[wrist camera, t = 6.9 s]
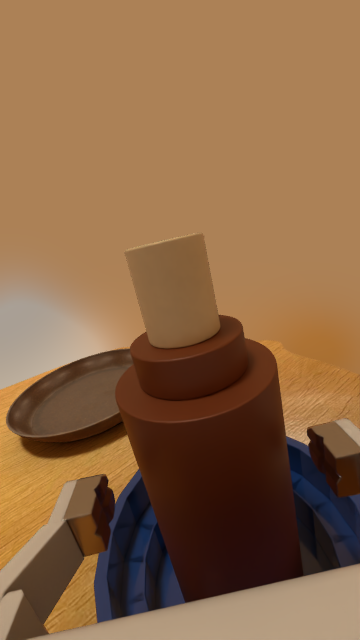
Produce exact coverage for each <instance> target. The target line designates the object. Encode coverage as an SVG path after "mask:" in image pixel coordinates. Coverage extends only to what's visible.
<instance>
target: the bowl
mask: <svg viewBox="0 0 360 640" xmlns="http://www.w3.org/2000/svg"><path fill="white" fill-rule="evenodd" d="M286 441H287V449H288V456H289V464H290V472H291V480H292V488H293V496H294V504H295V512H296V520H297V527H298V535H299V543H300V551H301V559H302V567H303V575H304V576H307V575H311V574H316V573H320V572H324V571H329V570H333V569H337V568H342V567H346V566H351V565H355V564H359V563H360V494H358V495H353V496H348V497H343V498H337V497H336V495H335V494H334V492H333V491H332V489H331V488H330V487H329V485H328V484H327V482H326V476H325V474H323V473H321V472H320V471H318V469H317V468H316V466H315V465H314V463H313V461H312V459H311V456H310V453H309V447H308V446H307V445H305V444H304V443H301V442H299V441H297V440H294V439H292V438H290V437H287V436H286ZM109 526H110V529H111V535H110V540H109V545H108V551H105V552H101V553H99V556H98V562H97V568H96V574H95V580H94V592H95V602H96V613H97V623H100V622H104V621H109V620H113V619H117V618H122V617H126V616H131V615H135V614H139V613H144V612H148V611H153V610H157V609H162V608H166V607H170V606H175V605H179V604H184V603H185V601H184V598H183V595H182V592H181V589H180V586H179V583H178V580H177V577H176V575H175V572H174V569H173V566H172V563H171V560H170V557H169V554H168V551H167V548H166V545H165V542H164V540H163V537H162V534H161V531H160V528H159V525H158V522H157V519H156V516H155V513H154V510H153V507H152V505H151V502H150V499H149V496H148V493H147V490H146V487H145V484H144V481H143V478H142V475H141V472H140V469H139V470H138V471H137V472H136V474H135V475H134V476H133V478H132V479H131V480H130V482H129V483H128V484H127V486H126V487H125V488H124V490H123V491H122V492H121V494H120V495H119V497H118V499H117V501H116V504H115V512H114V518H113V519H112V521H111V522H110V523H109Z"/></svg>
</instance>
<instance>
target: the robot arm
mask: <svg viewBox="0 0 360 640" xmlns="http://www.w3.org/2000/svg"><path fill="white" fill-rule="evenodd" d="M307 436H308V437H309V438H310V440H311V441H310V443H309V444H308V447H309V453H310V456H311V459H312V461H313V463H314V465H315V466H316V468H317V469H318V471H320V472H321V473H323V474H325V476H326V482H327V484H328V485H329V487H330V488H331V489H332V491H333V492H334V494H335V495H336V497H337V498H343V497H348V496H353V495H358V494H360V429H358V428H357V427H356V426H355V425H354V424H353V423H352V422H351V421H350V420H349V419H346V418H344V419H340V420H335V421H333V422H327V423H323V424H319V425H315V426H311V427H308V428H307ZM107 486H108V478H107V476H106V474H101V475H96V476H91V477H86V478H81V479H78V480H73V481H67V482H66V483H65V484H64V486H63V488H62V490H61V493H60V495H59V497H58V500H57V502H56V505H55V507H54V509H53V512H52V514H51V516H50V519H49V521H48V523H47V525H43V526H42V527H41V528H40V529H39V530H38V531H37V533H36V534H35V535H34V536H33V537H32V538H31V539H30V540H29V541H28V542H27V543H26V544H25V545H24V546H23V547H22V548H21V550H20V551H19V552H18V553H17V554H16V555H15V556H14V557H13V558H12V559H11V560H10V561H9V562H8V563H7V564H6V565H5V567H4V568H3V569H2V570H1V571H0V640H360V563H359V564H355V565H351V566H346V567H342V568H337V569H333V570H329V571H324V572H320V573H316V574H311V575H307V576H302V577H298V578H294V579H289V580H285V581H280V582H276V583H272V584H267V585H263V586H258V587H254V588H250V589H245V590H241V591H236V592H232V593H228V594H223V595H219V596H214V597H210V598H206V599H201V600H197V601H192V602H188V603H184V604H179V605H175V606H170V607H166V608H162V609H157V610H153V611H148V612H144V613H139V614H135V615H131V616H126V617H122V618H117V619H113V620H109V621H104V622H100V623H95V624H91V625H87V626H82V627H78V628H73V629H69V630H64V631H60V632H56V633H51V634H49V633H48V631H47V629H46V628H45V626H44V625H43V624H44V623H45V621H46V620H47V618H48V616H49V615H50V613H51V612H52V610H53V608H54V607H55V605H56V603H57V602H58V600H59V599H60V597H61V595H62V594H63V592H64V590H65V589H66V587H67V586H68V584H69V582H70V581H71V579H72V577H73V576H74V574H75V573H76V571H77V569H78V568H79V566H80V565H81V563H82V561H83V560H84V557H86V556H90V555H93V554H97V553H101V552H105V551H108V545H109V540H110V535H111V529H110V526H109V523H110V522H111V521H112V519H113V518H114V512H115V498H114V494H113V491H112V489H110V488H109V487H107Z"/></svg>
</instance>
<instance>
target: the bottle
mask: <svg viewBox="0 0 360 640" xmlns="http://www.w3.org/2000/svg"><path fill="white" fill-rule="evenodd" d="M125 256H126V259H127V263H128V267H129V270H130V274H131V277H132V281H133V285H134V288H135V292H136V295H137V299H138V302H139V306H140V310H141V313H142V317H143V320H144V324H145V328H146V331H147V332H145V333H144V334H142V335H140V336H139V337H138V338H137V339H136V340H135V341H134V342H133V343H132V344H131V347H130V354H131V357H132V361H133V365H132V366H130V367H129V368H128V369H127V370H126V371H125V372H124V374H123V375H122V376H121V377H120V379H119V381H118V383H117V385H116V389H115V399H116V402H117V405H118V408H119V411H120V414H121V417H122V420H123V423H124V426H125V429H126V432H127V434H128V437H129V440H130V443H131V446H132V449H133V452H134V455H135V458H136V461H137V464H138V467H139V469H140V472H141V475H142V478H143V481H144V484H145V487H146V490H147V493H148V496H149V499H150V502H151V505H152V507H153V510H154V513H155V516H156V519H157V522H158V525H159V528H160V531H161V534H162V537H163V540H164V542H165V545H166V548H167V551H168V554H169V557H170V560H171V563H172V566H173V569H174V572H175V575H176V577H177V580H178V583H179V586H180V589H181V592H182V595H183V598H184V601H185V603H188V602H192V601H197V600H201V599H206V598H210V597H214V596H219V595H223V594H228V593H232V592H236V591H241V590H245V589H250V588H254V587H258V586H263V585H267V584H272V583H276V582H280V581H285V580H289V579H294V578H298V577H302V576H304V575H303V567H302V559H301V551H300V543H299V535H298V527H297V520H296V512H295V504H294V496H293V488H292V480H291V472H290V464H289V456H288V449H287V441H286V433H285V425H284V417H283V409H282V401H281V393H280V385H279V378H278V370H277V363H276V359H275V357H274V355H273V354H272V352H271V351H270V350H269V349H268V348H266V347H265V346H264V345H262V344H260V343H258V342H255V341H253V340H250V339H245V338H244V332H243V326H242V324H241V322H240V321H238V320H237V319H235V318H233V317H230V316H224V315H218V310H217V305H216V300H215V294H214V289H213V284H212V279H211V273H210V268H209V262H208V258H207V252H206V247H205V242H204V236H203V233H195V234H190V235H186V236H182V237H177V238H172V239H168V240H164V241H159V242H155V243H151V244H147V245H143V246H139V247H135V248H131V249H128V250H126V251H125Z"/></svg>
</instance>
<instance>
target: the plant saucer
mask: <svg viewBox="0 0 360 640" xmlns="http://www.w3.org/2000/svg"><path fill="white" fill-rule="evenodd" d="M132 365H133V361H132V357H131V354H130V349H119V350H112V351H107V352H102V353H98V354H95V355H92V356H88V357H85V358H82V359H80V360H77V361H75V362H72V363H70V364H67V365H65V366H63V367H61V368H59V369H57V370H55V371H53V372H51V373H49V374H48V375H46V376H44V377H43V378H41V379H40V380H38V381H37V382H35V383H34V384H32V385H31V386H30V387H28V388H27V389H26V390H25V391H24V392H23V393H22V394H21V395H19V397H18V398H17V399H16V400H15V401H14V402H13V404H12V405H11V407H10V408H9V411H8V413H7V416H6V424H7V426H8V428H9V429H10V430H11V431H12V432H14V433H15V434H17V435H19V436H22V437H24V438H27V439H31V440H35V441H41V442H69V441H75V440H80V439H84V438H87V437H90V436H93V435H96V434H99V433H101V432H103V431H106V430H108V429H110V428H112V427H114V426H115V425H117V424H119V423H121V422H122V421H123V420H122V417H121V414H120V411H119V408H118V405H117V402H116V399H115V389H116V385H117V383H118V381H119V379H120V377H121V376H122V375H123V374H124V372H125V371H126V370H127V369H128V368H129V367H130V366H132Z"/></svg>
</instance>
